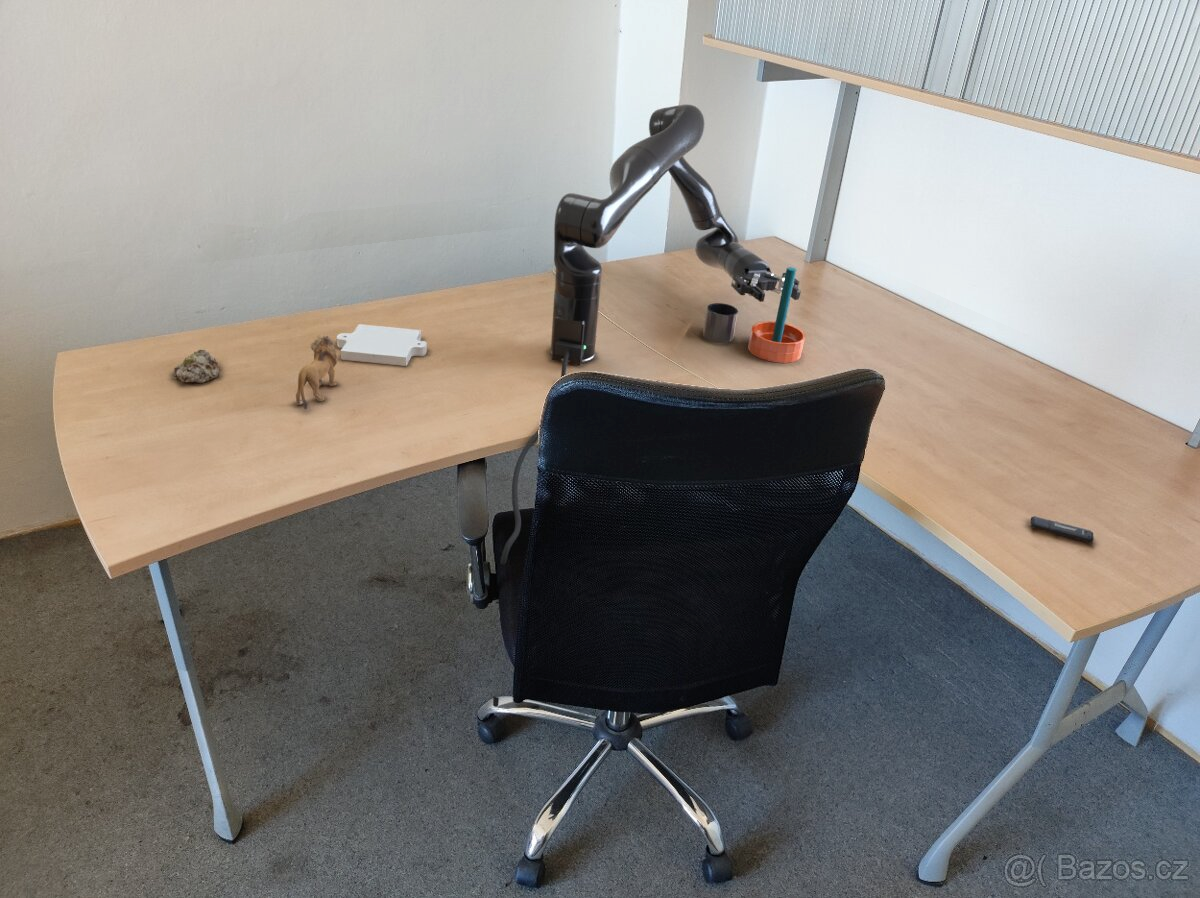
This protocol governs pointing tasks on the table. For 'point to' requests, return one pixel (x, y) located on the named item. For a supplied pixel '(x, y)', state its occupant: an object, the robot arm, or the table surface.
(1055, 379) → the table surface
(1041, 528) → the usb stick
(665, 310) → the table surface
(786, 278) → the straw
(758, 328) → the bowl
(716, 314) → the tumbler
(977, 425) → the table surface
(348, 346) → the mounting plate
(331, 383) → the lion figurine
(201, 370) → the mineral rock
